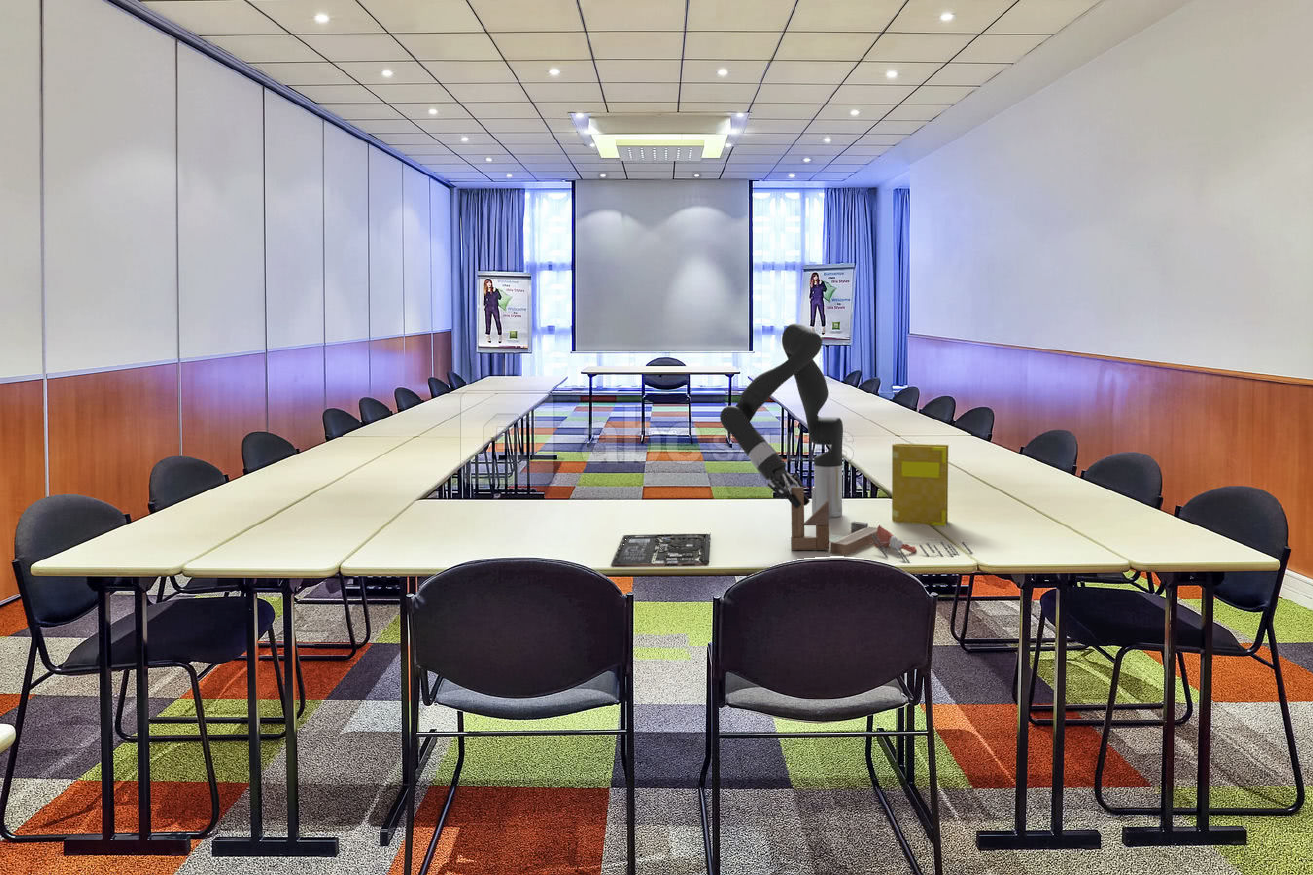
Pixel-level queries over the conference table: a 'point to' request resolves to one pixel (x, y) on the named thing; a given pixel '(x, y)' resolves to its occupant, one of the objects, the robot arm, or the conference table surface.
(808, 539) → the wooden block
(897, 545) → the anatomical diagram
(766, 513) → the conference table surface
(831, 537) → the end pad
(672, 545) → the laptop interior
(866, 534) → the walnut rail
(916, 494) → the book
